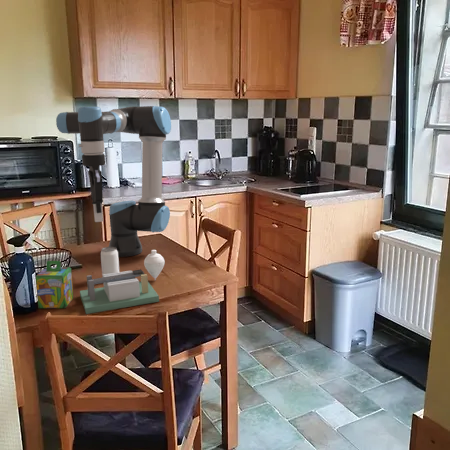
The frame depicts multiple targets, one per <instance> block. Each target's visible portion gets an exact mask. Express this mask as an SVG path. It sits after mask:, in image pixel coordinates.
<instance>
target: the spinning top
mask: <svg viewBox="0 0 450 450" xmlns="http://www.w3.org/2000/svg"><path fill="white" fill-rule="evenodd" d="M143 265H144V268H145V270H146V271H147V273H148V274H150V276H151V277H152V278H153V279H154V281H156V280H157V278H158V276H160V274H161V272H162V271H163V268H164V267H165V258H164V256H162V255H161V254H160V253H157V250H156V249H151V252H150V253H149V254H148V255H146V257H144V261H143Z"/></svg>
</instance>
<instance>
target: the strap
mask: <svg viewBox="0 0 450 450" xmlns="http://www.w3.org/2000/svg"><path fill="white" fill-rule="evenodd" d="M143 274H145V272H144V271H143V270H142V269H141V268H140V269H135V270H132V272H131V273H126V274H120V275H114V276H108V277H103V278H102V277H99V278H92V279H89V280H94V285H97V284H104V283H105V282H111V281H116V280H122V279H128V278H133V277H135V278H138V277H139V278H140V277H141V275H143Z"/></svg>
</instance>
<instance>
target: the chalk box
mask: <svg viewBox="0 0 450 450" xmlns="http://www.w3.org/2000/svg"><path fill="white" fill-rule="evenodd" d="M52 265H56V266H52ZM35 284H36V295H37V296H36V297H37V306H38V307H37V308H38V309H66V308H67V307H68V305H69V304H70V303H71V301H72V300H73V299H74V287H73V277H72V268H71V267H69V266H62V262H61V260H47V261H46V267H43V269H42V270H40V271H39V272H38V273H37V275H35Z"/></svg>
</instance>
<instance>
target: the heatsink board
mask: <svg viewBox="0 0 450 450" xmlns="http://www.w3.org/2000/svg"><path fill="white" fill-rule="evenodd" d="M132 271H133V270H126V271H125V270H124V271H119V272H117V273H110V274H103V277H108V276H114V275H120V274H126V273H131V272H132ZM148 278H149V277H148V274H147V273H146V274H145V273H144V274H143V275H141V276H140V281H139V278H138V277H133V278H128V279H122V280H116V281H111V282H105V283H103V287H97V288H95V284H94V280H89V279H93V277H92V275H91V274H89V275H86V284H87V289H85V290H84V289H83V290H79V296H80V300H81V303H82V305H83V308H84V309H83V310H84V312H85V314H86V315H89V314H94V313H101V312H106V311H113V310H117V309H123V308H129V307H134V306H140V305H146V304H152V303H153V304H154V303H157V302H160V296H159V294H158V293H157V291H156V290H155V289H154V288H153V286H152V284H150V282H149V279H148Z"/></svg>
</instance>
